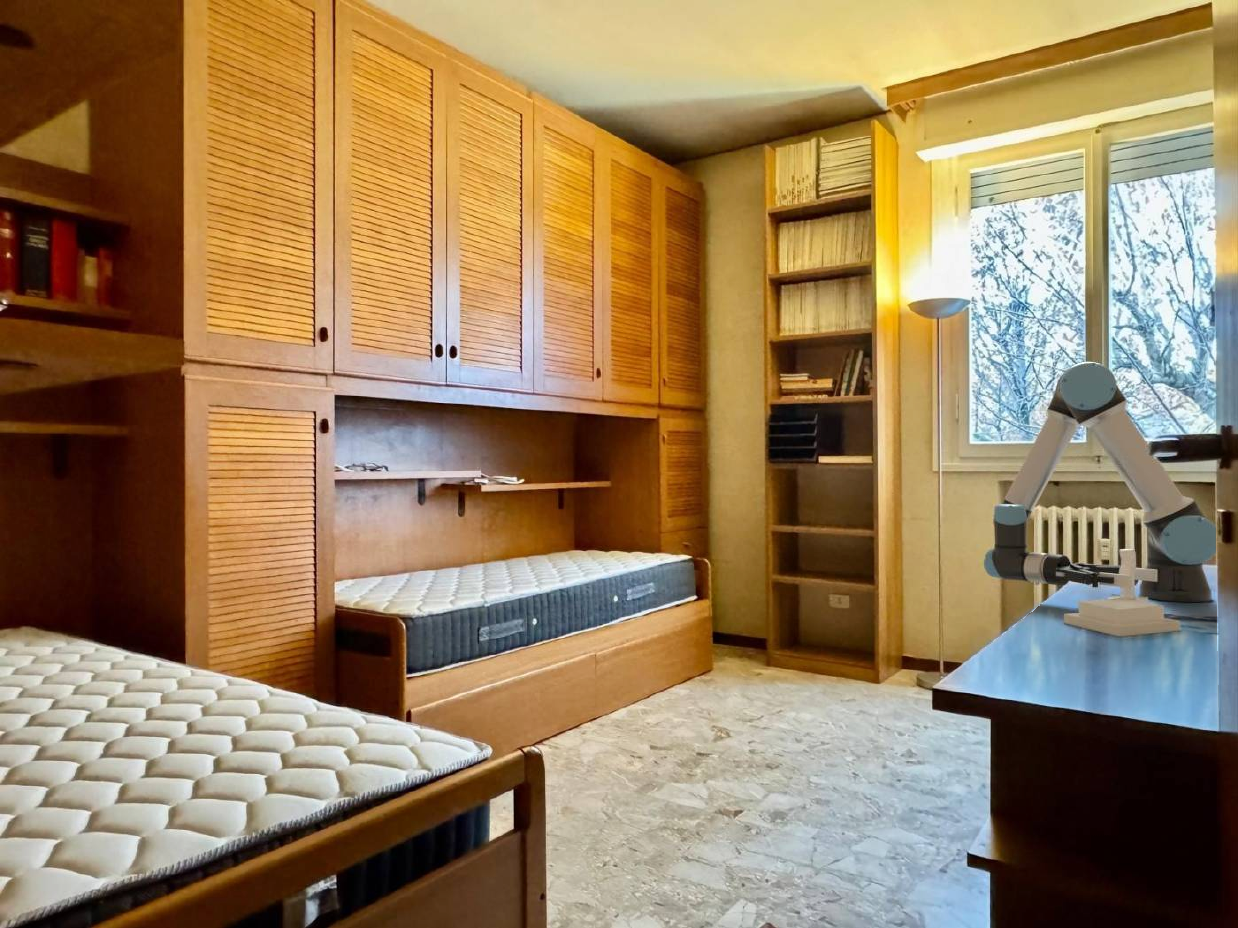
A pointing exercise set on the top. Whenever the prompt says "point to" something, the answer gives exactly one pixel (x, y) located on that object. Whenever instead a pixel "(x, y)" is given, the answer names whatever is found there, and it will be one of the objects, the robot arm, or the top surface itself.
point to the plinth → (1121, 617)
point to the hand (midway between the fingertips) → (1144, 578)
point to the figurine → (1128, 569)
